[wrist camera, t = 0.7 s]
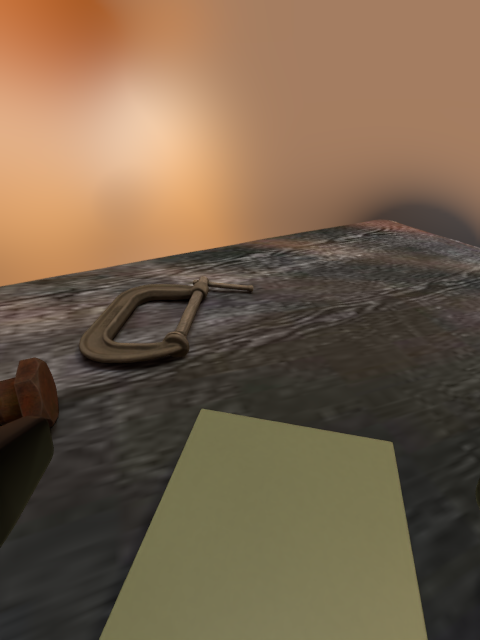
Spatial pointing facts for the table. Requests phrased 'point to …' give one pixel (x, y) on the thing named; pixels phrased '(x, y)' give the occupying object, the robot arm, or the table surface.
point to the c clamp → (105, 328)
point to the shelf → (274, 541)
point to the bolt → (29, 393)
